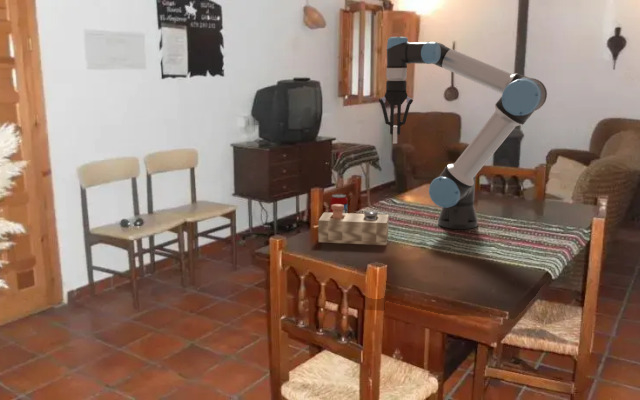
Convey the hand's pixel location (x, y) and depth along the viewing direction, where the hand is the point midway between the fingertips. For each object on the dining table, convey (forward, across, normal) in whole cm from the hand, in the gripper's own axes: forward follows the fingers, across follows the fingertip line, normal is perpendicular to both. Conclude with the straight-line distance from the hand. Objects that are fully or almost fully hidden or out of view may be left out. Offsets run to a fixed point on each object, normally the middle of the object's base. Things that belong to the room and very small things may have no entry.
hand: (394, 143), depth 230 cm
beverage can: (+33, +21, +3) cm, 39 cm away
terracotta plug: (+28, +19, +21) cm, 40 cm away
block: (+32, +13, +21) cm, 41 cm away
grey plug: (+31, +7, +21) cm, 38 cm away
